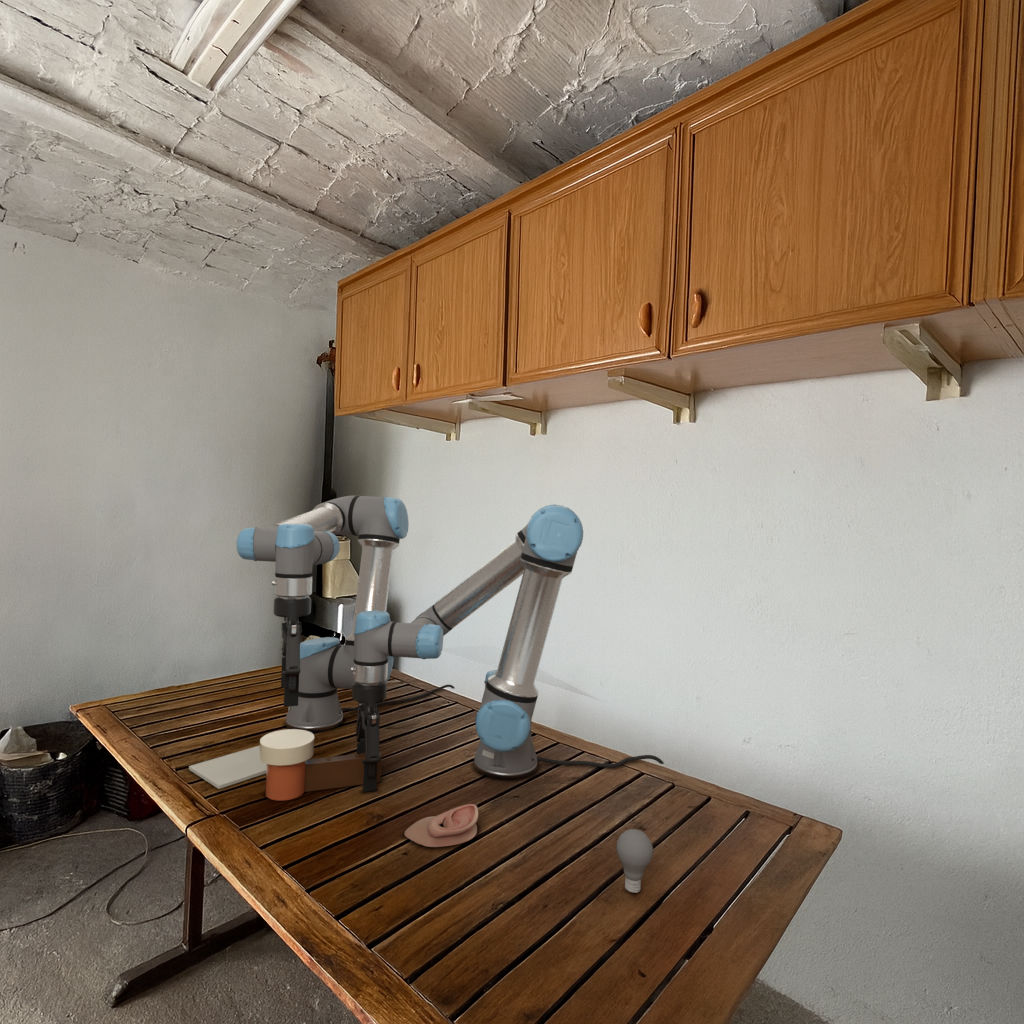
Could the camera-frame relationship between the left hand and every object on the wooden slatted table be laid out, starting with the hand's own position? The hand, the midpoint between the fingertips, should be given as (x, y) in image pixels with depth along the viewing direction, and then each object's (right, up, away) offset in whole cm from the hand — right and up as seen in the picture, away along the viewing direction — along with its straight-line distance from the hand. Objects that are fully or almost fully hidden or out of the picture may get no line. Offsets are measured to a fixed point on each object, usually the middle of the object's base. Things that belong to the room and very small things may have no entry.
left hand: (289, 695), depth 135 cm
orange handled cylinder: (+7, -21, +3) cm, 22 cm away
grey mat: (-14, -20, +12) cm, 27 cm away
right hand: (+15, -21, +7) cm, 26 cm away
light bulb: (+68, -24, -29) cm, 78 cm away
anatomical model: (+34, -22, -13) cm, 43 cm away
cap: (-1, -13, 0) cm, 13 cm away
